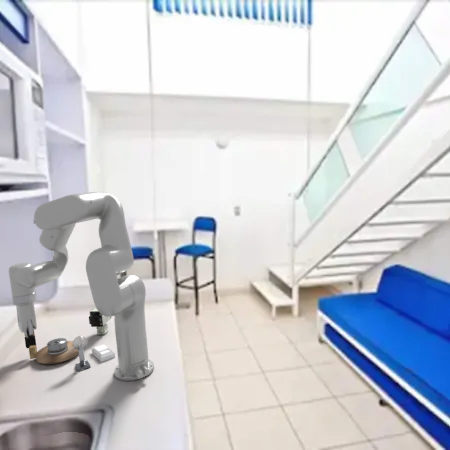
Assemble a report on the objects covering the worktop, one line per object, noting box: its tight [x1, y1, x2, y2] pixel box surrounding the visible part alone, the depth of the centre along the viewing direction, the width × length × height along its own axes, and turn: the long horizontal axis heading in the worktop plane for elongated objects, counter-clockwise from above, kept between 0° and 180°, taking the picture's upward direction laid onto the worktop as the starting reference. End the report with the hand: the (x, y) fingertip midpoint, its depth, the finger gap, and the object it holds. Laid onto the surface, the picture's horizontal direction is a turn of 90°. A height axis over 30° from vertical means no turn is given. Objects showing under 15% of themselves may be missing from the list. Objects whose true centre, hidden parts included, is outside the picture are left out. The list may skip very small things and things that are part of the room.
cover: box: [46, 337, 68, 356], centre depth 135 cm, size 7×7×4 cm
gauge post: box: [72, 335, 91, 372], centre depth 126 cm, size 4×4×11 cm
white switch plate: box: [91, 343, 116, 363], centre depth 134 cm, size 5×9×3 cm, turn 39°
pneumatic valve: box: [88, 306, 112, 336], centre depth 153 cm, size 6×12×12 cm, turn 174°
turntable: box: [28, 340, 79, 365], centre depth 135 cm, size 17×15×4 cm
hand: (31, 346), depth 137 cm, fingers closed
